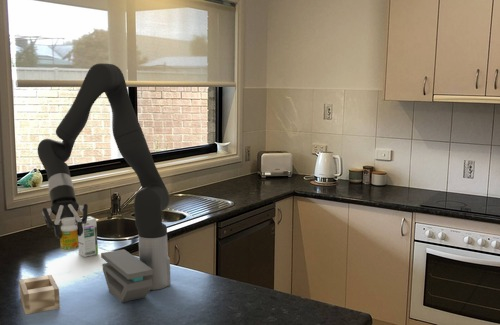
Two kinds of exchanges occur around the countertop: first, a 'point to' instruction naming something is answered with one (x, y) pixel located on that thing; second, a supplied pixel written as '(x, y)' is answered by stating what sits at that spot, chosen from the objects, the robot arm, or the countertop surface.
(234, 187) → the countertop surface
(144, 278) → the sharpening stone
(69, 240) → the supplement bottle
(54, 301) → the post socket
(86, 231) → the syrup box
